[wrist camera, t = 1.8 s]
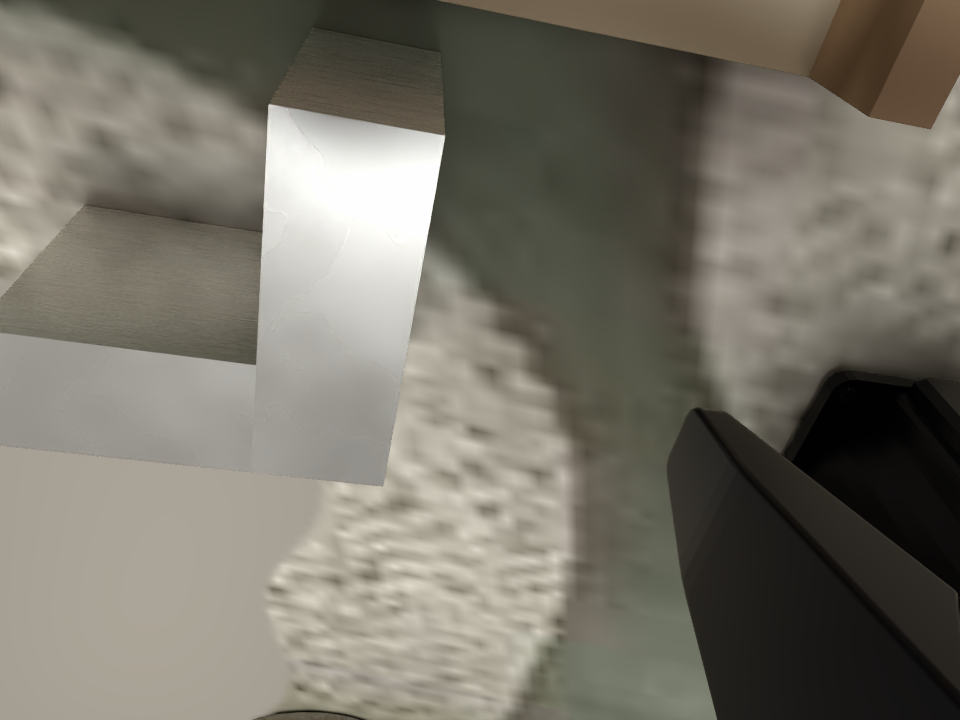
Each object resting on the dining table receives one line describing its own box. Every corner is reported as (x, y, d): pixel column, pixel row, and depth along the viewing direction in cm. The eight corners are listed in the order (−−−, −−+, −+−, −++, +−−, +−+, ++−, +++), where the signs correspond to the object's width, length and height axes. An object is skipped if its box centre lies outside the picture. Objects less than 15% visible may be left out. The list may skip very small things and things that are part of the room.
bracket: (392, 344, 19) (383, 486, 15) (93, 304, 18) (-6, 445, 14) (440, 52, 15) (445, 135, 11) (64, -22, 14) (-84, 41, 10)
